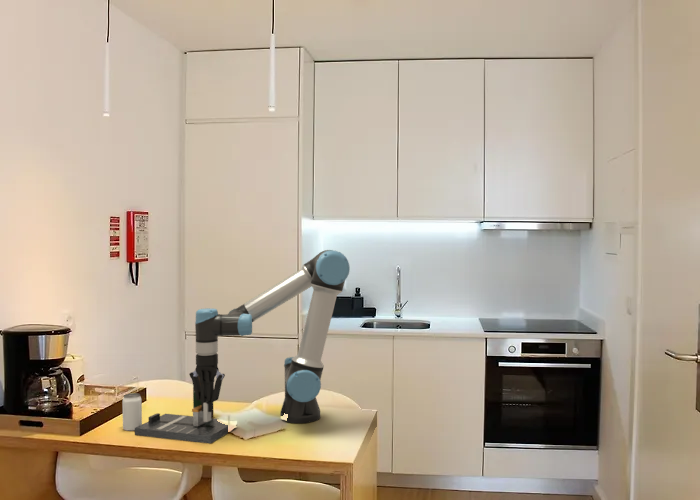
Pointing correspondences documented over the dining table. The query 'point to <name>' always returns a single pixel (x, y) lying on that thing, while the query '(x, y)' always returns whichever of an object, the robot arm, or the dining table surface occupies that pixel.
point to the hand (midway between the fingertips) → (207, 420)
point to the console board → (181, 428)
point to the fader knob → (197, 416)
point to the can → (132, 411)
